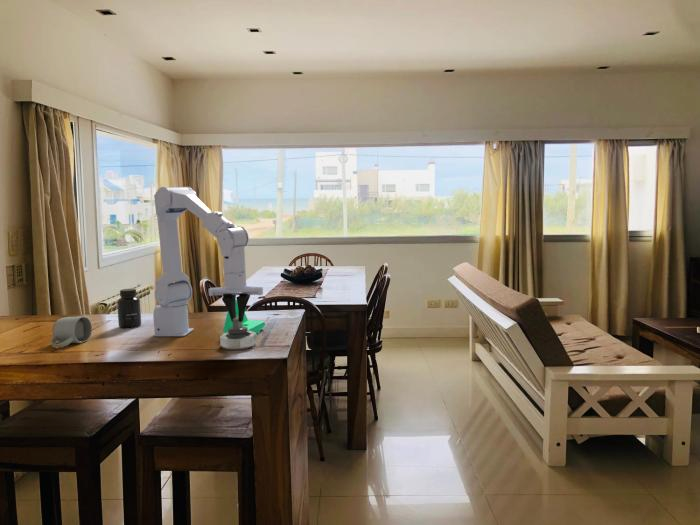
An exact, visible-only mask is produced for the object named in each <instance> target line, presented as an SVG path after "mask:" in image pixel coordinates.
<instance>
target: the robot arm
mask: <svg viewBox="0 0 700 525" xmlns="http://www.w3.org/2000/svg"><path fill="white" fill-rule="evenodd" d="M153 197H154V205H155V206H154V207H155V215H156V218H157V230H158V237H159V246H160V255H161V256H160V257H161V266H162V274H160V276H159V277H158V278H157V279H156V280H155V281H154V282H155V290H154V298H155V301H156V302H157V303H158V305H155V306H154V309H153V328H154V334H153V337H185V336H186V335H188V334H189V333H191V332H192V331H194V330H195V329H194V328H193V327H189V312H188V303H190V300H191V298H192V297H193V287H192V285H191V283H190V276H188V274H186V273H184V272H183V271H182V270H183V269H182V260H181V259H182V258H181V252H180V251H181V250H180V242H179V240H180V239H179V231H178V222H177V220H178V219H179V217H180V216H181V215H182V214H184V213H185V212H187V211H189V212H190V213H192V214H193V215H194V216H195V217H197V218H198V219H200V220H201V221H202V226H203V228H204V229H205V230H207V232H209V233H210V234H211V235H212V236H213V237H214V238H216V242H217V245H218V247H219V249H220V254H221V256H222V258H223V263H222V264H223V278H224V286H220V287H219V286H218V287H210V288H208V296H209V297H213V296H222V298H221V299H222V302H223V303H224V305H225V307H226V309H227V312H229V314H230V317H231V321H232V322H233V320H232V319H234V318H235V317H236V309H235V302H236V300H237V304H238V316H239V322H242V321H243V319H244V312H245V313H246V311H245V308H246V309H247V305H248V302H249V300H250V298H251V296H263V295H264V288H263V286H248V285H247V274H246V252H245V247H246V246H247V245H248V243H249V234H248V232H247V230H246V229H245V227H244V226H241V225H239V226H237V225H234V223H233V222H232V221H230V220H228V219H227V218H226V217H224V215H223V212H221V211H215V210H214V211H211V209H210V208H209V207H208V206H206V204H205V203H204V202H202V200H201V199H199V197H198V194H197V192H196V191H195V190H194V189H193V188H191V187H190V186H180V187H179V186H175V187H174V186H167V187H166V186H160V187H159V188H158V189H157V190H156V192H155V194H154V195H153Z"/></svg>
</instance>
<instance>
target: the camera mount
mask: <svg viewBox="0 0 700 525" xmlns="http://www.w3.org/2000/svg"><path fill="white" fill-rule="evenodd" d="M235 309H236V316H238V304H237V299H236V302H235ZM246 309H247V307H246V308H245V312H244V319H243V321H242V325H243V326H244V327H247V328H248V331H252V332H255V333H256V335H258V334H259V333H261V332H260V331H261V329H263V328H265V326H266V325H265V323H266V322H265V321H264V320H250V319H248V317H247V315H246ZM231 327H233V322H232V321H231V317H230V314H229V312H228V311H227V313H226V317H225V321H224V325H223V330H222V331H223V333H222V334H224V333H227V332H228V329H229V328H231ZM258 332H259V333H258ZM257 333H258V334H257Z"/></svg>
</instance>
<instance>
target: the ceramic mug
mask: <svg viewBox="0 0 700 525" xmlns="http://www.w3.org/2000/svg"><path fill="white" fill-rule="evenodd" d="M92 332H93V327H92V321H91V320H90V319H89V317H87V316H85V315H83V316H82V315H80V316H67V317H66V316H65V317H61V318H59V319H57V320H56V321H55V322H54V323H53V327H52V335H53V337H52V338H51V340H50V346H52V347H53V346H54V347H62V348H64V347H63V346H65V347H67V346H69V345H70V344H84V343H83V342H85V341H87V342H88V341H89V340H90V338H91V336H92ZM80 341H81V342H80ZM56 342H59V343H56ZM85 343H86V342H85ZM54 347H53V348H54Z"/></svg>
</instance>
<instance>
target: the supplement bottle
mask: <svg viewBox="0 0 700 525" xmlns="http://www.w3.org/2000/svg"><path fill="white" fill-rule="evenodd" d="M119 296H120V298H119V299H118V300H117V302H116V306H117V319H118V320H117V321H118V327H119V328H120V329H126V328H129V329H134V328H135V327H136V328H139V327H141V325H142V315H141V314H142V311H141V309H142V308H141V300H140V298H139V297H138V296H137V289H136V288H123V289H120V290H119ZM126 330H127V329H126Z"/></svg>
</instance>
